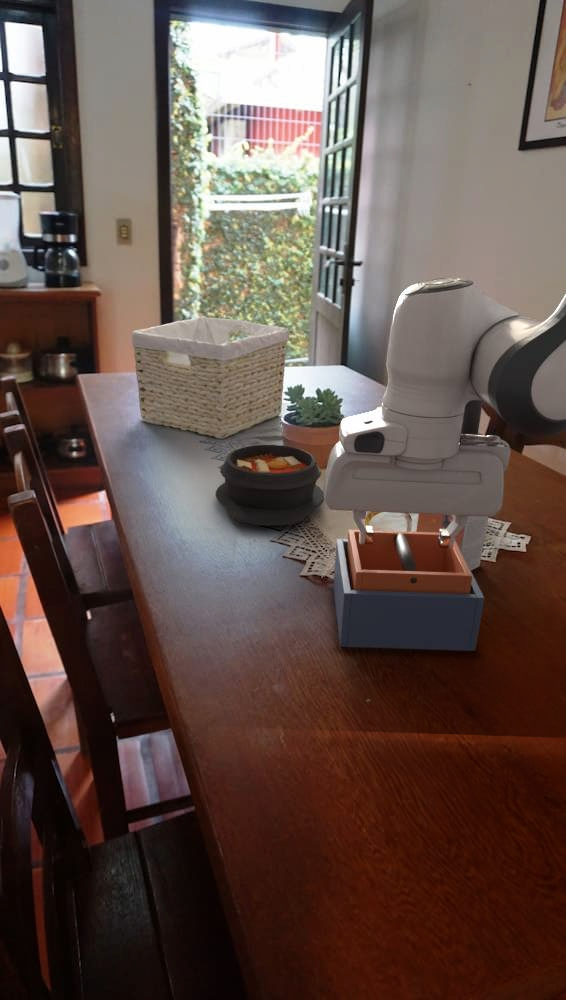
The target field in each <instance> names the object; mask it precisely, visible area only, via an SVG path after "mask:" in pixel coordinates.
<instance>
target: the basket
mask: <svg viewBox="0 0 566 1000" xmlns="http://www.w3.org/2000/svg"><path fill="white" fill-rule="evenodd" d="M232 334H234V335H236V336H239V335H245V336H247V337H243V338H238V339H235V340H232V341H231V337H232ZM289 338H290V330H289V329H288V328H286V327H284V326H275V325H268V324H261V323H256V322H253V321H245V320H243V319H234V318H219V317H207V316H206V315H203V316H196V317H194V318H190V319H183V320H177V321H173V322H170V323H169V322H168V323H165V324H161V325H156V326H151V327H147V328H141V329H135V330H133V331H132V333H131V344H132V347H133V352H134V361H135V369H136V370H135V374H136V381H137V389H138V390H137V391H138V403H139V404H138V405H139V406H138V407H139V412H140V418H141V420H142V422H145V423H149V424H153V425H155V424H156V425H159V426H164V427H172V428H175V429H180V430H182V431H191V432H194V433H196V432H197V433H198V434H199V435H207V436H209V437H214V438H215V439H219V440H223V439H225V438H228V437H229V436H233V435H236V434H237V433H239V432H240V431H243V430H249V429H250V428H252V427H253V426H254V425H258V424H261V423H264V422H265V421H266V420H270V419H273V418H276V417H277V416H280V415H281V414H282V406H283V392H284V379H285V378H284V377H285V366H286V365H285V364H286V355H287V345H288V340H289Z"/></svg>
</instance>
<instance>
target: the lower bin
mask: <svg viewBox="0 0 566 1000" xmlns="http://www.w3.org/2000/svg"><path fill="white" fill-rule="evenodd" d="M347 543H348V538H336V542H335V557H334V573H333V586H332V587H333V596H334V605H335V611H336V612H335V613H336V620H337V621H336V622H337V630H338V631H337V632H338V640H339V646H340V647H342V648H343V647H345V648H347V647H348V648H375V649H376V648H378V649H379V648H380V649H408V650H409V649H410V650H411V649H412V650H439V651H441V650H442V651H471V652H472V651H473V652H475V651H476V649H477V644H478V638H479V631H480V627H481V620H482V615H483V614H482V613H483V608H484V603H485V596H484V594H483V592H482V590H481V588H480V586H479V584H478V582H477V580H476V578H475V576H474V574H473V572H472V570H470V568H469V566H468V564H467V562H466V560H465V558H464V556H463V554H462V552H461V550H460V548H459V546H458V544H457V543H456V544H457V546H458V548H459V550H460V552H461V554H462V556H463V558H464V560H465V562H466V564H467V566H468V568H469V570H470V572H471V574H472V582H471V588H470V594H451V593H421V592H390V591H359V590H351V589H350V582H349V576H348V570H347V563H346V556H347Z"/></svg>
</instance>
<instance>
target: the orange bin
mask: <svg viewBox="0 0 566 1000" xmlns="http://www.w3.org/2000/svg"><path fill="white" fill-rule="evenodd" d="M359 531H360V530H359V529H348V532H347V539H348V543H347V556H346V563H347V570H348V576H349V582H350V589H351V590H359V591H390V592H421V593H451V594H470V588H471V582H472V574H473V573H472V574H471V572H472V571H471V572H470V570H469V568H468V566H467V564H466V562H465V560H464V558H463V556H462V554H461V552H460V550H459V548H458V546H457V544H456V542H455V540H454V545H453V548H440V547H439V546H440V545H439V544H438V537H439V533H436V532H416V531H411V532H406V531H405V530H403V531H401V530H374V529H373V531H374V536H373V538H372V539H373V544H372V545H370V544H360V542H359Z"/></svg>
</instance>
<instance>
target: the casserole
mask: <svg viewBox="0 0 566 1000" xmlns="http://www.w3.org/2000/svg"><path fill="white" fill-rule="evenodd" d="M219 470H220V471H219V472H220V474H221V476H222V477H223V478H224V482H223V483H221V484H220V485H219V486H218V487H217V489H216V491H215V498H216V500H217V501H218V502H219V504H221V506H223V507H224V508H225V510H226V512H227V514H228V516H229V517H230V519H232V520H234V521H236V522H239V523H244V524H249V525H256V526H266V527H267V526H268V527H269V526H270V527H271V526H274V527H275V526H277V527H278V526H289V525H294V524H298V523H300V522H303V521H304V520H305V519H306V518H307V517H308V516H309V514H310V513H311V512H312V511H314V510H316V509H317V508H319V506H321V505H322V504H323V503H324V497H323V490H322V488H321V487H320V486H319V485H317V481H318V480H319V479H320V477H321V476H322V470H321V468H320V467H319V466H318V464H317V460H316V458H315V456H314V455H313V454H311V453H310V452H308V451H306V450H304V449H301V448H297V447H295V446H294V447H293V446H289V445H281V444H255V445H248V446H243V447H239V448H236V449H234V450H231V452H229V453H228V454H227V455H226V458H225V461H224V463H223V464H222V465H221V466H220V468H219Z"/></svg>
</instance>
